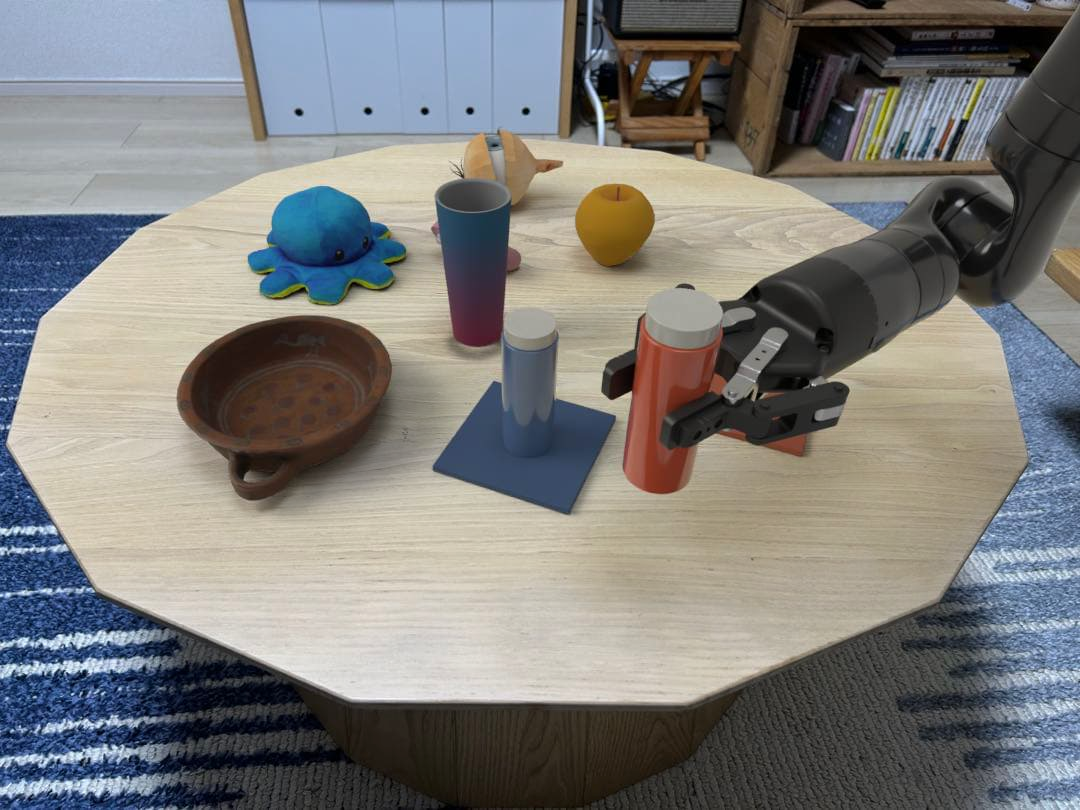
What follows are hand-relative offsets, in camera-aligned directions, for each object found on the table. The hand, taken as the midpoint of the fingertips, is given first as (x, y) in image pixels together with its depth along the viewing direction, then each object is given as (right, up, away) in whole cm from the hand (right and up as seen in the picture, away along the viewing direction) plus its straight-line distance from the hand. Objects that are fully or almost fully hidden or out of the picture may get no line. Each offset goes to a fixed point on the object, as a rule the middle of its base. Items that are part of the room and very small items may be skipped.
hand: (635, 408), depth 43 cm
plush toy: (-29, +16, +44) cm, 55 cm away
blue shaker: (-6, -3, +23) cm, 24 cm away
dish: (-27, -1, +25) cm, 37 cm away
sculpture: (-10, +26, +56) cm, 63 cm away
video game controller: (-13, +16, +45) cm, 50 cm away
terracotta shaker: (+2, -4, +6) cm, 7 cm away
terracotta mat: (+13, +2, +29) cm, 32 cm away
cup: (-12, +8, +35) cm, 38 cm away
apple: (+3, +17, +46) cm, 49 cm away
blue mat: (-6, -3, +23) cm, 24 cm away
